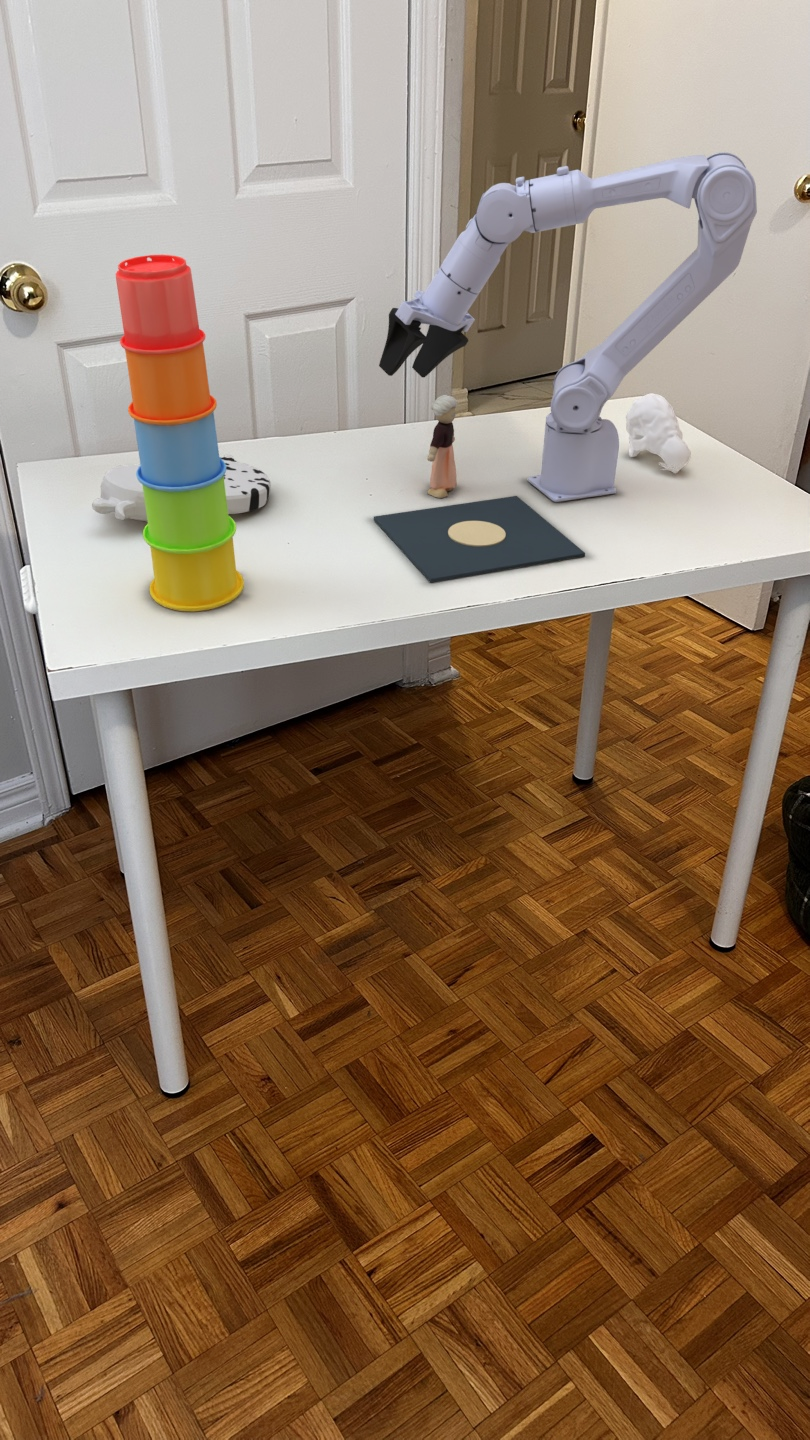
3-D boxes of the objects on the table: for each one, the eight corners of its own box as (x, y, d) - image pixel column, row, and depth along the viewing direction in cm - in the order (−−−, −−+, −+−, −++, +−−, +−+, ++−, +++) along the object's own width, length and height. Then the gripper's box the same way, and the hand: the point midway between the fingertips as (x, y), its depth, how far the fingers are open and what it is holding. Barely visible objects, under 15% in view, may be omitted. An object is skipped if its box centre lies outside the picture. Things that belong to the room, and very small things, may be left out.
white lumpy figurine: (665, 386, 159) (712, 422, 151) (653, 442, 165) (698, 479, 156) (626, 390, 157) (672, 427, 149) (615, 447, 163) (659, 485, 154)
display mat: (516, 499, 147) (516, 494, 147) (585, 556, 133) (585, 551, 133) (373, 520, 141) (373, 514, 140) (430, 582, 127) (430, 577, 127)
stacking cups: (242, 612, 120) (219, 272, 101) (145, 613, 120) (103, 271, 100) (245, 568, 129) (225, 247, 109) (155, 569, 128) (118, 246, 108)
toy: (95, 477, 149) (91, 534, 132) (95, 442, 146) (91, 495, 130) (260, 489, 154) (277, 544, 137) (263, 455, 152) (280, 508, 135)
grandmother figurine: (451, 502, 146) (456, 406, 139) (422, 499, 146) (425, 403, 139) (460, 480, 152) (466, 387, 145) (432, 477, 152) (436, 384, 145)
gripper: (468, 266, 144) (412, 354, 152) (406, 252, 133) (348, 349, 140) (505, 300, 143) (447, 388, 150) (445, 289, 131) (385, 385, 138)
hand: (402, 371), depth 145 cm, fingers open, 7 cm apart
